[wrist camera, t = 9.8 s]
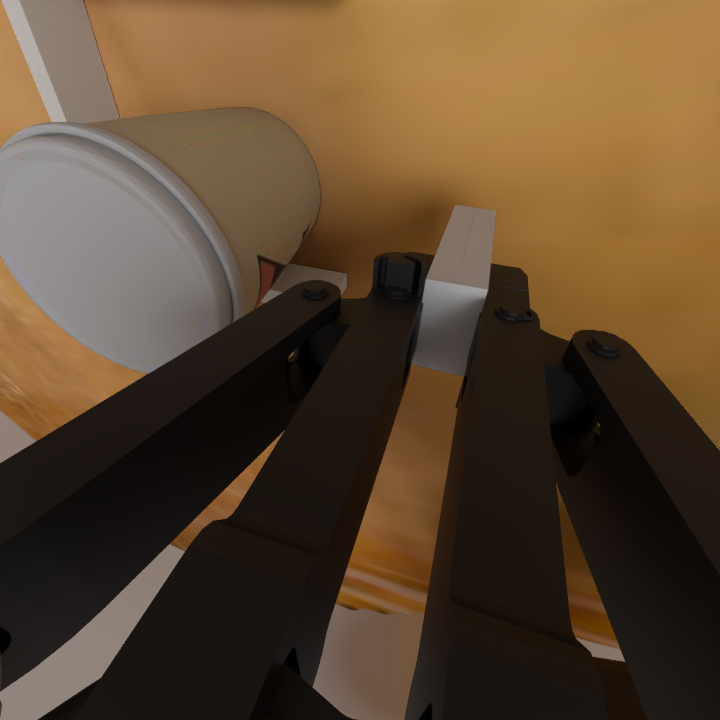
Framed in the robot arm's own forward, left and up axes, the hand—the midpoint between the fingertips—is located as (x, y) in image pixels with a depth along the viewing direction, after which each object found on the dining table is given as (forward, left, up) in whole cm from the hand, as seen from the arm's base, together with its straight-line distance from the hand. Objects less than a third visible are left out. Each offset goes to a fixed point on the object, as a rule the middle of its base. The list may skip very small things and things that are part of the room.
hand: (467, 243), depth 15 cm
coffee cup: (-1, +12, -6) cm, 14 cm away
